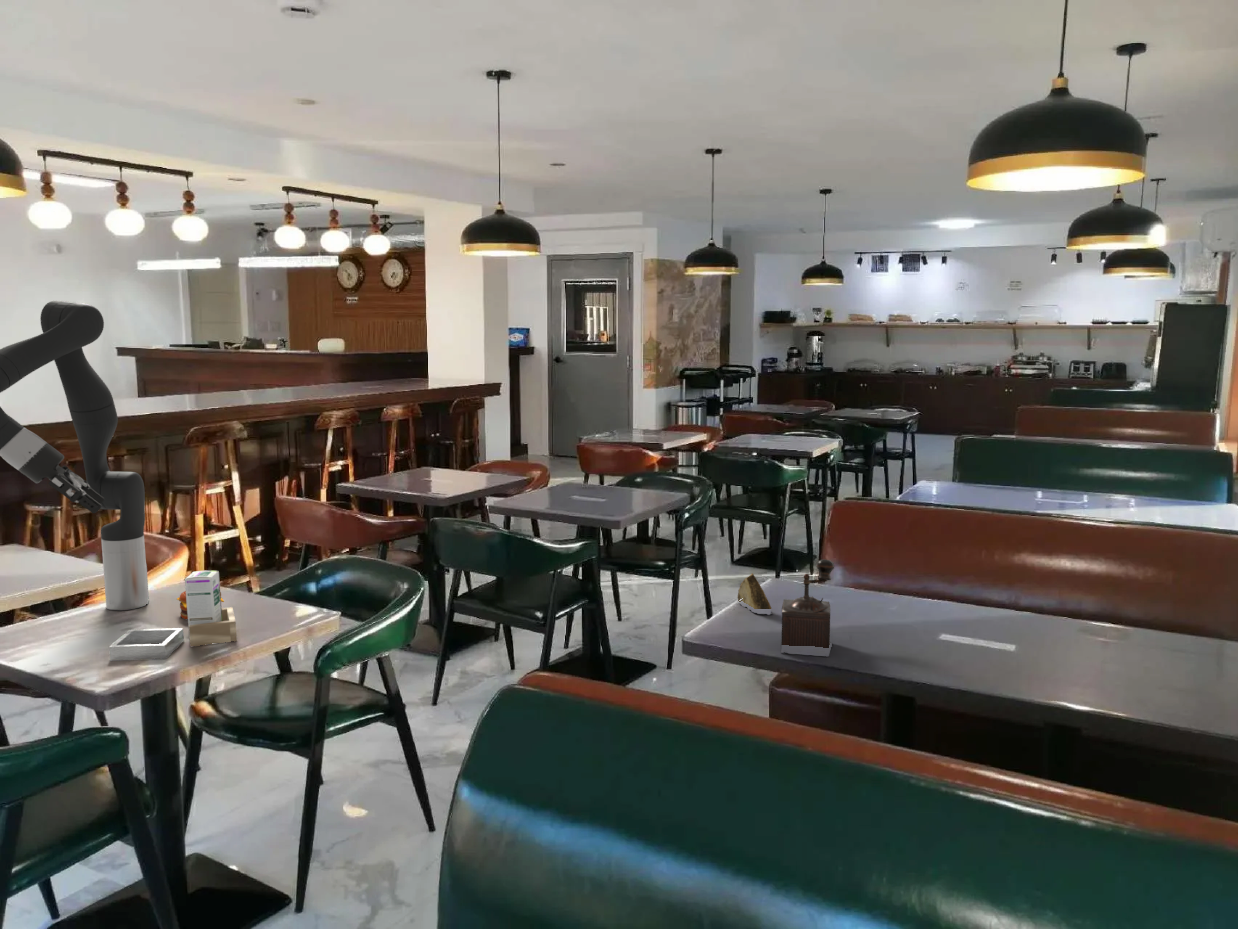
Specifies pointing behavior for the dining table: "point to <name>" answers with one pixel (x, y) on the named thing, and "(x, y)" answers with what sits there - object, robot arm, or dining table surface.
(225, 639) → the cradle
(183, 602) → the hamburger
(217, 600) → the syrup box
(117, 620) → the dining table surface
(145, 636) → the gray rectangular tray
